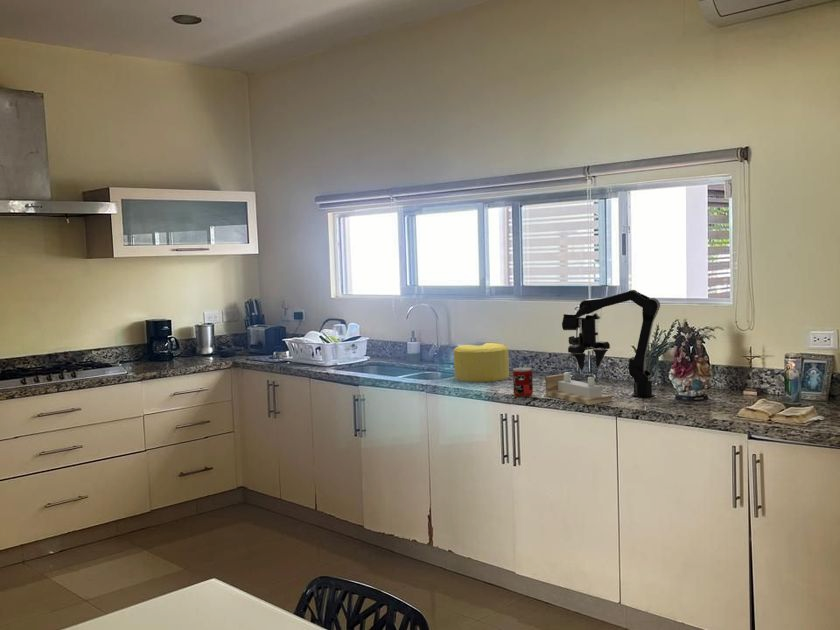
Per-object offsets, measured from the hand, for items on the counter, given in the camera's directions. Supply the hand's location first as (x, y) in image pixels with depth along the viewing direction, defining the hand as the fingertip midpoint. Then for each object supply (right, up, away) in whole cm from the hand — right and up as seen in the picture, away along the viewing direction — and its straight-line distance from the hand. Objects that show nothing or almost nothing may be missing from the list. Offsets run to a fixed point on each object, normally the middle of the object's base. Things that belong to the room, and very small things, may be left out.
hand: (589, 368), depth 324 cm
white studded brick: (-6, -10, -7) cm, 13 cm away
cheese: (-40, -8, +55) cm, 69 cm away
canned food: (-26, -12, +6) cm, 29 cm away
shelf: (-6, -12, -7) cm, 15 cm away
